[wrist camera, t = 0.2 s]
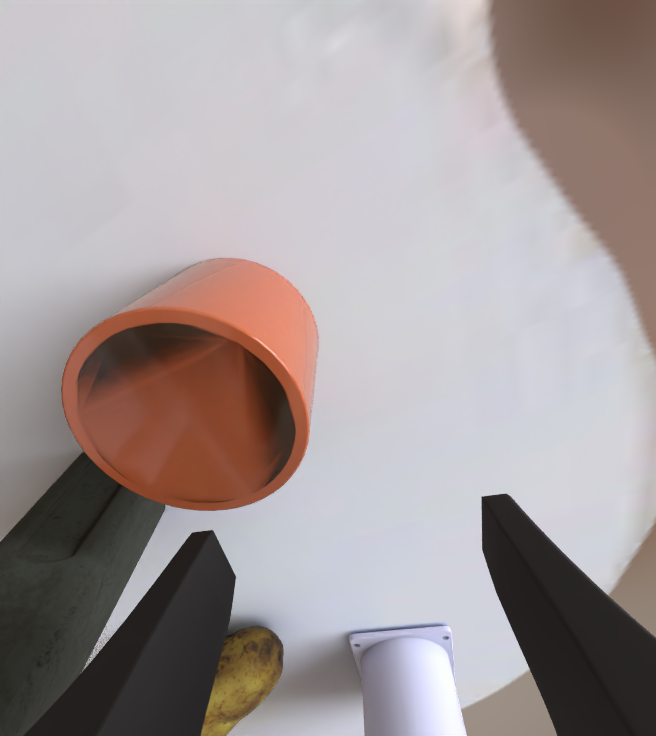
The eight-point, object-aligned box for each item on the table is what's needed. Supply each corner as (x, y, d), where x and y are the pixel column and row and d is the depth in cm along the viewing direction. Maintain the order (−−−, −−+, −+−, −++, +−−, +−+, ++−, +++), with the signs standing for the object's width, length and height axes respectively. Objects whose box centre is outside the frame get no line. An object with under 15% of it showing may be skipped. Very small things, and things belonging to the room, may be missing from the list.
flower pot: (332, 395, 20) (331, 497, 14) (191, 418, 21) (127, 523, 14) (297, 241, 16) (272, 282, 10) (127, 276, 17) (7, 334, 11)
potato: (305, 661, 32) (296, 799, 25) (168, 674, 34) (123, 807, 27) (278, 605, 28) (258, 748, 21) (125, 622, 30) (59, 761, 23)
